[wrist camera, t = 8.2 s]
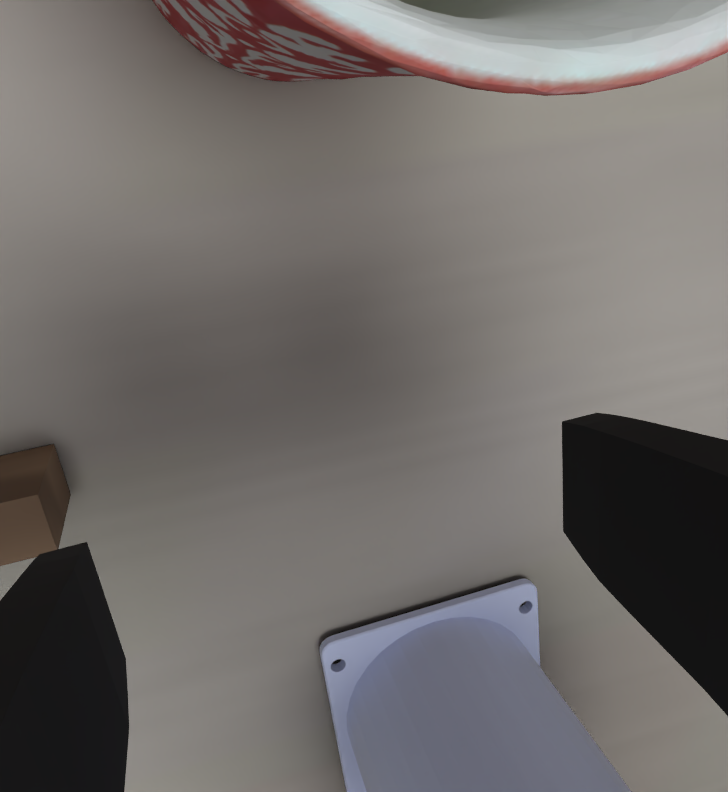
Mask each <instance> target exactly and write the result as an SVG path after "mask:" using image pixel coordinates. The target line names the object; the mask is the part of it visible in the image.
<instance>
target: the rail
mask: <svg viewBox="0 0 728 792" xmlns="http://www.w3.org/2000/svg"><path fill="white" fill-rule="evenodd" d="M70 495H71V494H70V491H69V488H68V485H67V482H66V479H65V476H64V473H63V470H62V467H61V464H60V461H59V458H58V455H57V452H56V449H55V446H54V444H52V445H47V446H43V447H38V448H34V449H29V450H25V451H20V452H16V453H11V454H6V455H2V456H0V566H2V565H6V564H10V563H14V562H18V561H22V560H26V559H30V558H34V557H37V556H38V555H39V554H42V553H46V552H50V551H54V550H58V548H59V543H60V539H61V535H62V530H63V526H64V521H65V517H66V513H67V508H68V504H69V499H70Z"/></svg>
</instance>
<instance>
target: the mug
mask: <svg viewBox="0 0 728 792" xmlns="http://www.w3.org/2000/svg"><path fill="white" fill-rule="evenodd" d="M152 1H153V2H154V3H155V5H156V6H157V8H158V9H159V10H160V12H161V13H162V15H163V16H164V17H165V18H166V19H167V20H168V22H169V23H170V24H171V25H172V26H173V27H174V28H175V29H176V30H177V31H178V32H179V33H180V34H181V35H182V36H183V37H184V38H186V39H187V40H188V41H189V42H190V43H192V44H193V45H194V46H195V47H196V48H197V49H199V50H200V51H201V52H203V53H204V54H206V55H208V56H209V57H211V58H212V59H214V60H215V61H217V62H219V63H221V64H223V65H225V66H226V67H229V68H231V69H234V70H237V71H239V72H242V73H245V74H247V75H251V76H255V77H259V78H262V79H266V80H273V81H306V80H315V79H348V78H355V77H378V76H423V77H427V78H431V79H435V80H439V81H443V82H447V83H451V84H455V85H458V86H462V87H466V88H471V89H479V90H487V91H495V92H502V93H526V94H535V95H543V96H548V95H570V94H586V93H594V92H600V91H606V90H612V89H618V88H623V87H629V86H635V85H641V84H644V83H647V82H650V81H654V80H657V79H660V78H663V77H666V76H669V75H672V74H676V73H679V72H682V71H685V70H688V69H691V68H693V67H695V66H697V65H700V64H702V63H704V62H706V61H709V60H711V59H713V58H715V57H718V56H720V55H722V54H724V53H727V52H728V0H152Z"/></svg>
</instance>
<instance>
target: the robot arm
mask: <svg viewBox="0 0 728 792" xmlns="http://www.w3.org/2000/svg"><path fill="white" fill-rule="evenodd" d="M562 457H563V531H564V533H565V534H566V536H567V537H568V539H569V540H570V541H571V543H572V544H573V546H574V547H575V549H576V550H577V552H578V553H579V554H580V556H581V557H582V559H583V560H584V561H585V563H586V564H587V565H588V567H589V568H590V569H591V571H592V572H593V573H594V575H595V576H596V577H597V579H598V580H599V581H600V582H601V583H602V584H603V585H604V586H605V588H606V589H607V590H608V591H609V592H610V593H611V594H612V595H613V596H614V597H615V598H616V599H617V600H618V601H619V602H620V603H621V604H622V605H623V606H624V608H625V609H626V610H627V611H628V612H629V613H630V614H631V615H632V616H633V617H634V618H635V619H636V620H637V621H638V622H639V623H640V624H641V625H642V626H643V627H644V628H645V629H646V630H647V631H648V632H649V633H650V634H651V635H652V636H653V637H654V638H655V639H656V641H657V642H658V643H659V644H660V645H661V646H662V647H663V648H664V649H665V650H666V651H667V652H668V653H669V654H670V655H671V656H672V657H673V658H674V659H675V660H676V661H677V662H678V663H679V664H680V665H681V666H682V667H683V668H684V669H685V670H686V671H687V672H688V673H689V674H690V675H691V676H692V677H693V678H694V679H695V680H696V681H697V683H698V684H699V685H700V686H701V687H702V688H703V689H704V690H705V691H706V692H707V693H708V694H709V695H710V697H711V698H712V699H713V700H714V701H715V702H716V703H717V704H718V705H719V707H720V708H721V709H722V710H723V711H724V712H725V713H726V714H727V716H728V440H723V439H719V438H715V437H711V436H706V435H702V434H698V433H694V432H690V431H685V430H681V429H677V428H673V427H669V426H664V425H660V424H656V423H651V422H647V421H642V420H638V419H633V418H628V417H623V416H617V415H610V414H602V413H594V414H590V415H586V416H582V417H578V418H575V419H571V420H567V421H563V422H562ZM525 601H527V602H526V603H525V605H523V606H521V607H520V605H521V604H522V603H524V602H525ZM319 652H320V657H321V662H322V667H323V673H324V678H325V683H326V688H327V693H328V699H329V704H330V709H331V714H332V720H333V725H334V730H335V735H336V740H337V746H338V751H339V756H340V761H341V766H342V772H343V777H344V782H345V787H346V792H632V791H631V790H630V789H629V787H628V786H627V785H626V783H625V782H624V781H623V779H622V778H621V776H620V775H619V774H618V772H617V771H616V770H615V768H614V767H613V766H612V764H611V763H610V761H609V760H608V759H607V757H606V756H605V755H604V753H603V752H602V751H601V749H600V748H599V747H598V745H597V744H596V742H595V741H594V740H593V738H592V737H591V736H590V734H589V733H588V732H587V730H586V729H585V727H584V726H583V725H582V723H581V722H580V721H579V719H578V718H577V717H576V715H575V714H574V713H573V711H572V710H571V708H570V707H569V706H568V704H567V703H566V702H565V700H564V699H563V698H562V696H561V695H560V693H559V692H558V691H557V689H556V688H555V687H554V685H553V684H552V683H551V681H550V680H549V679H548V677H547V676H546V674H545V673H544V672H543V670H542V669H541V668H540V647H539V622H538V597H537V589H536V587H535V585H534V584H533V583H532V582H531V581H530V580H528V579H519V580H515V581H512V582H509V583H505V584H502V585H499V586H495V587H492V588H488V589H485V590H482V591H478V592H475V593H472V594H468V595H465V596H462V597H458V598H455V599H452V600H448V601H445V602H442V603H438V604H435V605H432V606H428V607H425V608H422V609H418V610H415V611H412V612H408V613H405V614H402V615H398V616H395V617H392V618H388V619H385V620H382V621H378V622H375V623H372V624H368V625H365V626H362V627H358V628H355V629H352V630H348V631H345V632H342V633H338V634H335V635H332V636H330V637H327V638H326V639H325V640H324V641H323V642H322V643H321V645H320V650H319ZM337 659H342V660H341V661H340V662H339V663H337V664H332V663H333V661H335V660H337ZM128 734H129V715H128V691H127V674H126V658H125V655H124V652H123V649H122V646H121V643H120V640H119V637H118V634H117V631H116V628H115V625H114V622H113V619H112V616H111V613H110V610H109V607H108V604H107V601H106V598H105V595H104V592H103V589H102V586H101V583H100V580H99V577H98V574H97V571H96V568H95V565H94V562H93V559H92V556H91V553H90V550H89V547H88V544H87V542H85V543H81V544H77V545H74V546H70V547H66V548H62V549H58V550H54V551H50V552H46V553H42V554H39V555H38V556H37V558H36V559H35V560H34V561H33V562H32V563H31V564H30V565H29V566H28V568H27V569H26V570H25V571H24V572H23V574H22V575H21V576H20V577H19V579H18V580H17V581H16V582H15V583H14V585H13V586H12V587H11V588H10V590H9V591H8V592H7V593H6V595H5V596H4V597H3V598H2V599H1V601H0V792H124V787H125V774H126V761H127V748H128Z"/></svg>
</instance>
